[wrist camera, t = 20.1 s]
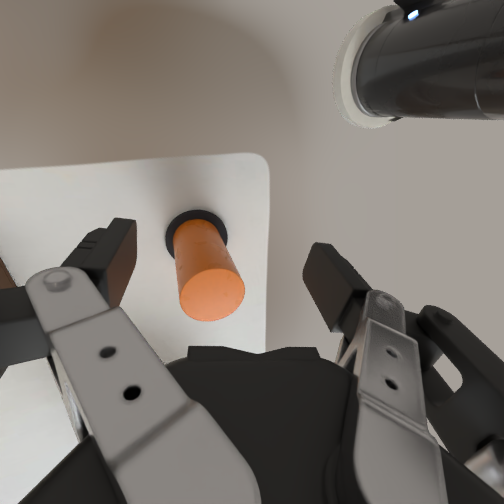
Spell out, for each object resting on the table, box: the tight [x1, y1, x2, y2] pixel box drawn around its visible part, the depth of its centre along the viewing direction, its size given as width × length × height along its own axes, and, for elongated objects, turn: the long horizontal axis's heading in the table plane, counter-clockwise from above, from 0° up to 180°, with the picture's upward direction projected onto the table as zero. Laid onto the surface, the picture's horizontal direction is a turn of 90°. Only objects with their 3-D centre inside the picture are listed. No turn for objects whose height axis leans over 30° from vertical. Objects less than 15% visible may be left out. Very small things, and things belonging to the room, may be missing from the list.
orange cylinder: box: [173, 219, 245, 321], centre depth 28 cm, size 6×6×12 cm
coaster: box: [166, 210, 228, 259], centre depth 33 cm, size 8×8×1 cm
